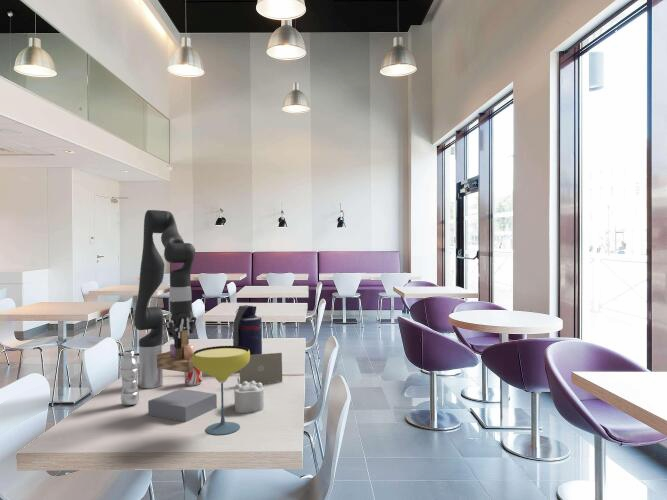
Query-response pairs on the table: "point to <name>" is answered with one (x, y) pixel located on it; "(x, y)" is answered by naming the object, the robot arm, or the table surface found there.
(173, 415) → the plain gray square box
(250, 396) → the lumpy-topped squat cylinder
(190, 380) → the soda can
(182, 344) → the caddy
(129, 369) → the plastic bottle
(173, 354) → the lilac rounded capsule
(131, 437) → the table surface
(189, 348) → the peach glossy rounded part
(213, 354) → the cocktail glass
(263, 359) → the laptop
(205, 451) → the table surface
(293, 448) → the table surface
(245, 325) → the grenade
